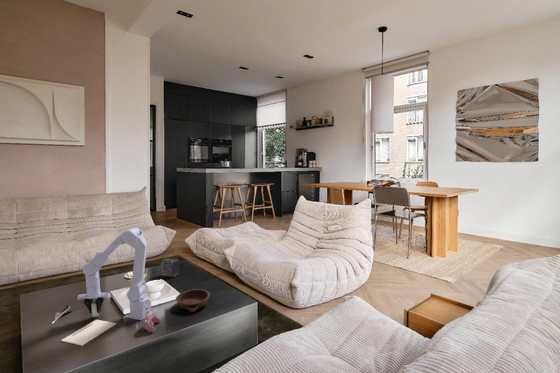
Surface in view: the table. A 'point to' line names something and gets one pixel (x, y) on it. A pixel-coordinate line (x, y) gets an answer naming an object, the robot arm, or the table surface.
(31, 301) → the table surface
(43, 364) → the table surface
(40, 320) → the table surface
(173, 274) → the small box
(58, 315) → the scissors
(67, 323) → the table surface
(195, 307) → the dish
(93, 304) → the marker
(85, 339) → the notepad
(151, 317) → the video game controller
